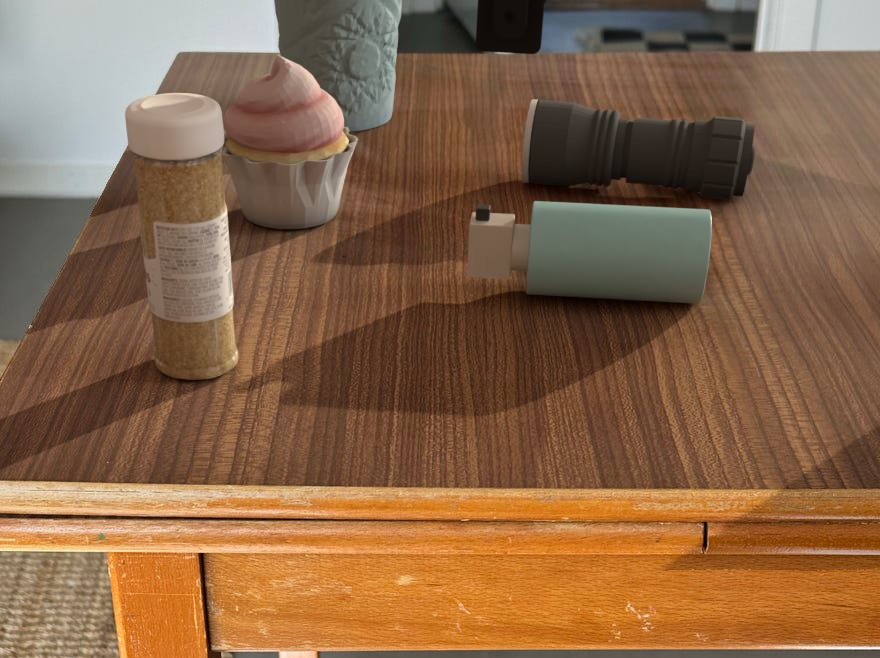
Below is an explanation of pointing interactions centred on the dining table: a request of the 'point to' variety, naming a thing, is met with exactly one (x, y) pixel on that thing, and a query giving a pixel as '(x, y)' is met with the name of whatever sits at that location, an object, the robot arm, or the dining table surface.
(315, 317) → the dining table surface
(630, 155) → the flashlight
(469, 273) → the spray bottle
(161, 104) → the sprinkles bottle
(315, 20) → the embossed vase
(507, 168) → the dining table surface
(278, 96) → the cupcake
